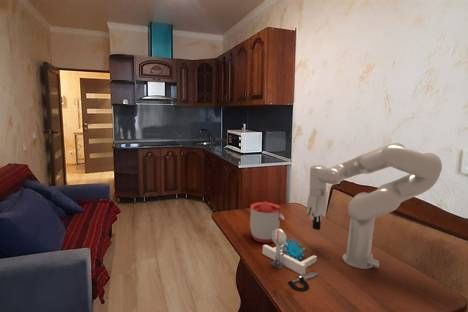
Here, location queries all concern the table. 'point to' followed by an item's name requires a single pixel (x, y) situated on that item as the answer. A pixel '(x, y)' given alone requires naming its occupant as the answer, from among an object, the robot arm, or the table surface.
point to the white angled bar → (289, 259)
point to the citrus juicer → (264, 220)
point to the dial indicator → (278, 246)
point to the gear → (294, 249)
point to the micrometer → (302, 281)
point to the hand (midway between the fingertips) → (316, 228)
